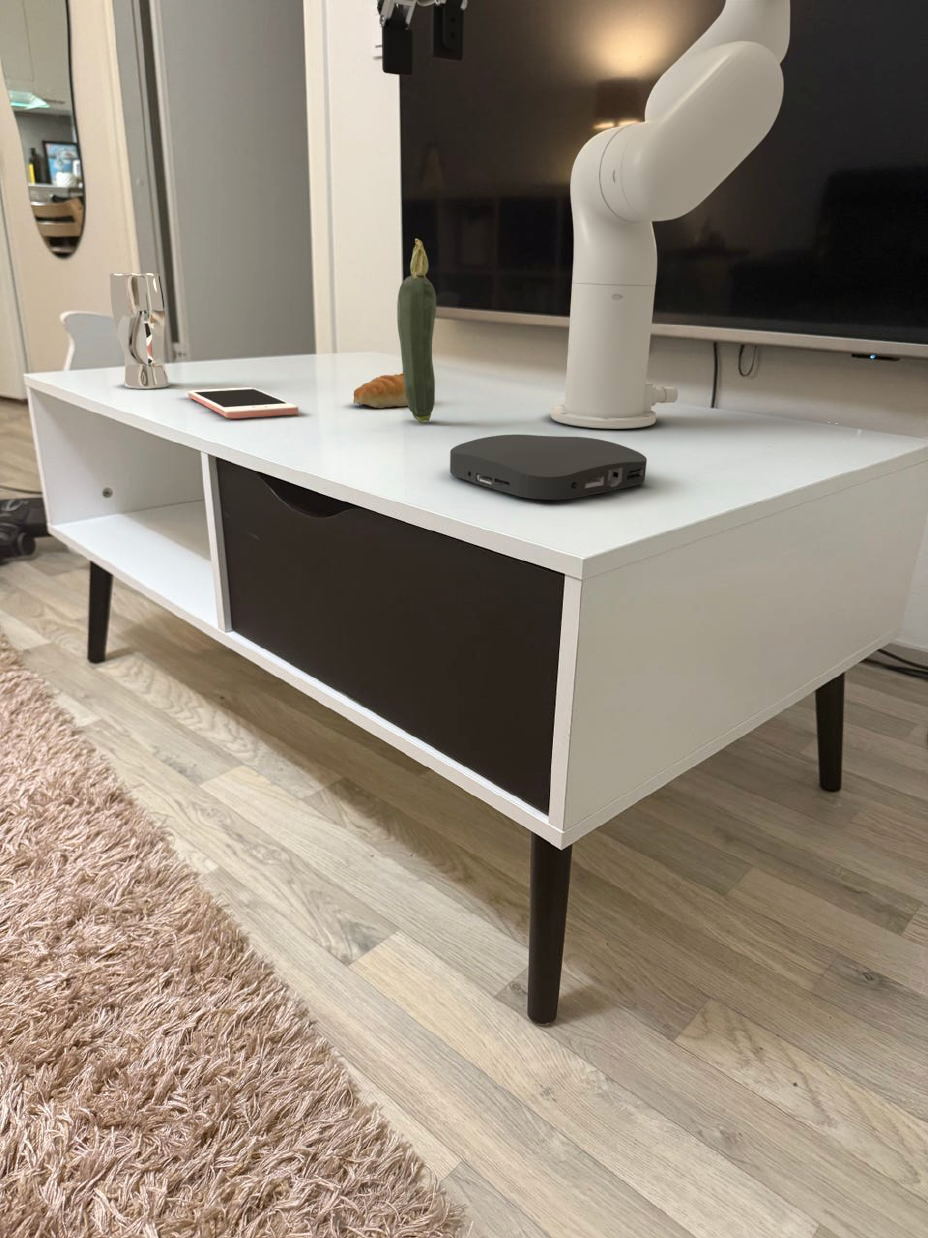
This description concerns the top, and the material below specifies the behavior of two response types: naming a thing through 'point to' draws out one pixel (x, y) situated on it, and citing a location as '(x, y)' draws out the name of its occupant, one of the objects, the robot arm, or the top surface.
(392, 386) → the pastry
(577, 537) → the top surface
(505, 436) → the media streaming box
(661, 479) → the top surface
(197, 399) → the cell phone
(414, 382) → the vegetable
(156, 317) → the silver vase
